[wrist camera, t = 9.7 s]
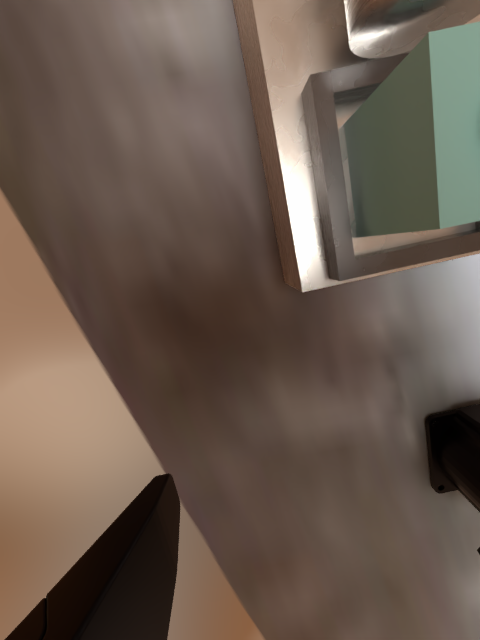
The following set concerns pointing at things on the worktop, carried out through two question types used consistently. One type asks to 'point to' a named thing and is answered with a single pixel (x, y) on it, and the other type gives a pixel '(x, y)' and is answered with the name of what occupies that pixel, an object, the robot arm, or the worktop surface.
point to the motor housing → (334, 127)
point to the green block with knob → (420, 140)
